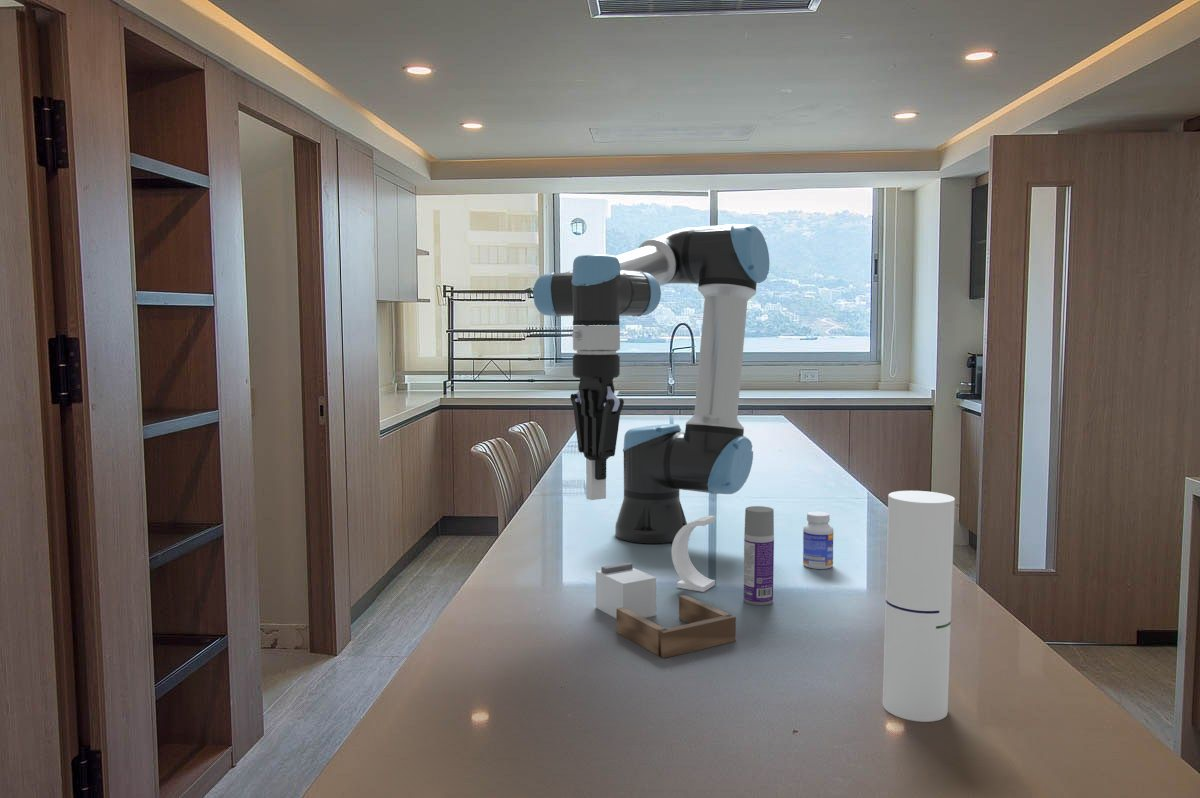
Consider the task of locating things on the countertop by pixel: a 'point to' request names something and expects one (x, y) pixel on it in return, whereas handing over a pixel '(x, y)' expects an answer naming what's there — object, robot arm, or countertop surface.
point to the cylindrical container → (918, 604)
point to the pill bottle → (818, 541)
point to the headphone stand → (682, 559)
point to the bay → (679, 629)
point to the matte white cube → (625, 590)
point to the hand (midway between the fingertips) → (596, 498)
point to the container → (758, 555)
